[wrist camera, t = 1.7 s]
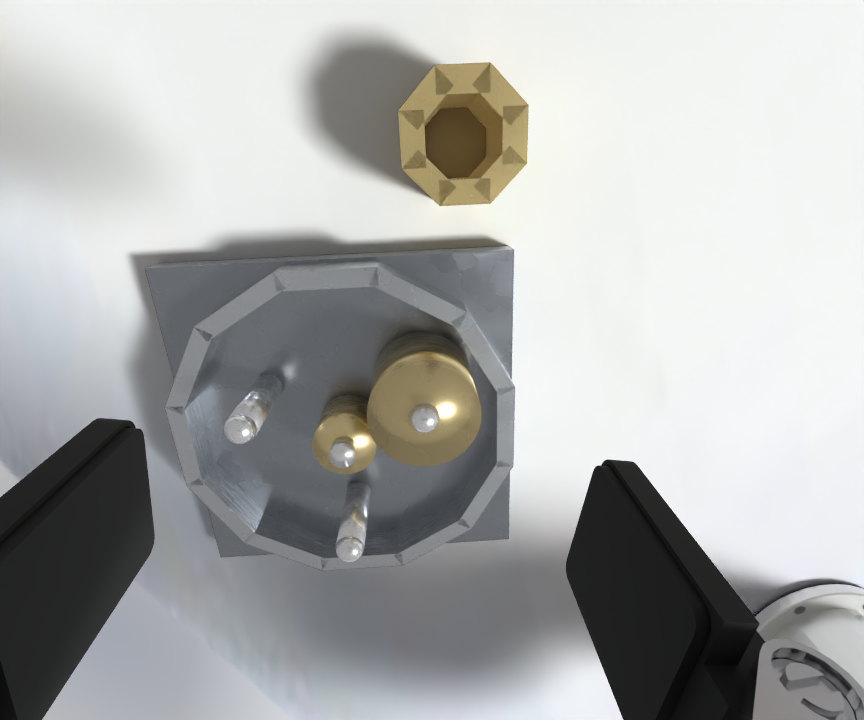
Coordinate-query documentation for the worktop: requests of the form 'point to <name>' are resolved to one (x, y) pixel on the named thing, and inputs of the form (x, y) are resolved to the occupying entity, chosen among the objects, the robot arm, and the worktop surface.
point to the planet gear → (490, 106)
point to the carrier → (343, 400)
